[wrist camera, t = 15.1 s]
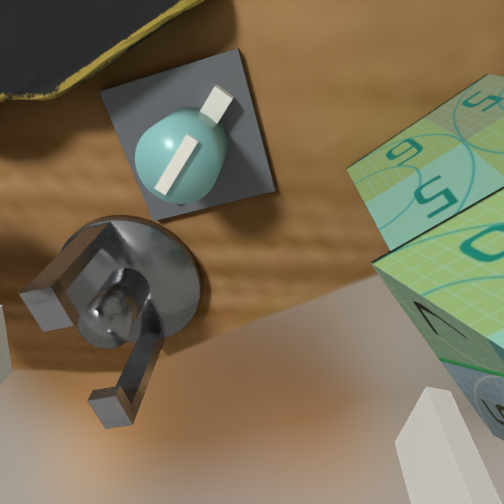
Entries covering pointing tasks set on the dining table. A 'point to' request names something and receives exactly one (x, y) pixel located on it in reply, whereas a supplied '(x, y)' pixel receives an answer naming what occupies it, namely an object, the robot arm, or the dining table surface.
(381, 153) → the printed tall block
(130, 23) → the mask
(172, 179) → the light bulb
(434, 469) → the robot arm
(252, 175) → the coaster
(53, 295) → the grey metal piece
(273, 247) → the dining table surface
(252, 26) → the dining table surface
